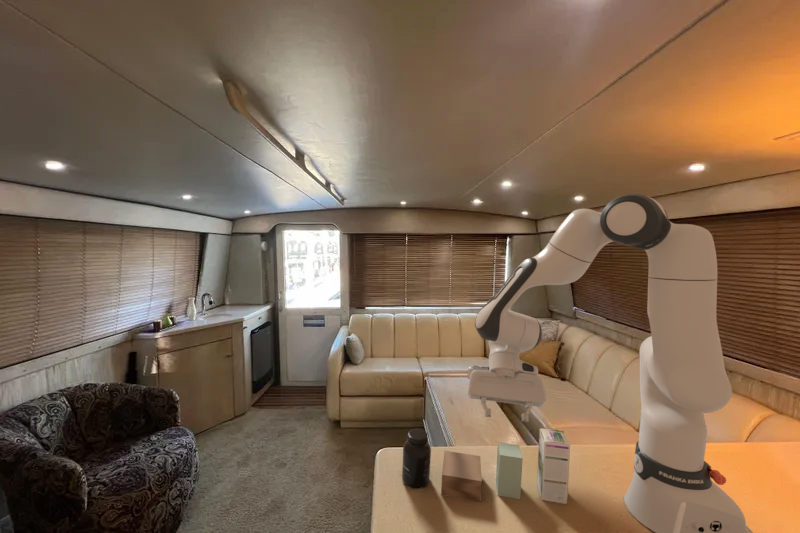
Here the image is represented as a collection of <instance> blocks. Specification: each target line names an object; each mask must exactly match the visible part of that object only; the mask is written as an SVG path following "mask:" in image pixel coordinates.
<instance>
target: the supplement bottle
mask: <svg viewBox="0 0 800 533" xmlns="http://www.w3.org/2000/svg"><path fill="white" fill-rule="evenodd" d="M402 448H403V449H402V469H401V471H402V472H401V473H402V474H401V478H402V481H403V483H404V485H406V486H407V487H408V488H411V489H414V490H419V489H422V488H425V487H426V486H428V484H429V482H430V476H431V459H432V458H431V456H432V447H431V445H430V443H429V442H428V432H427V431H426V430H425V429H422V428H412V429H410V430H409V431H408V432H407V439H406V441H405V442H404V444H403V447H402Z"/></svg>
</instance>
